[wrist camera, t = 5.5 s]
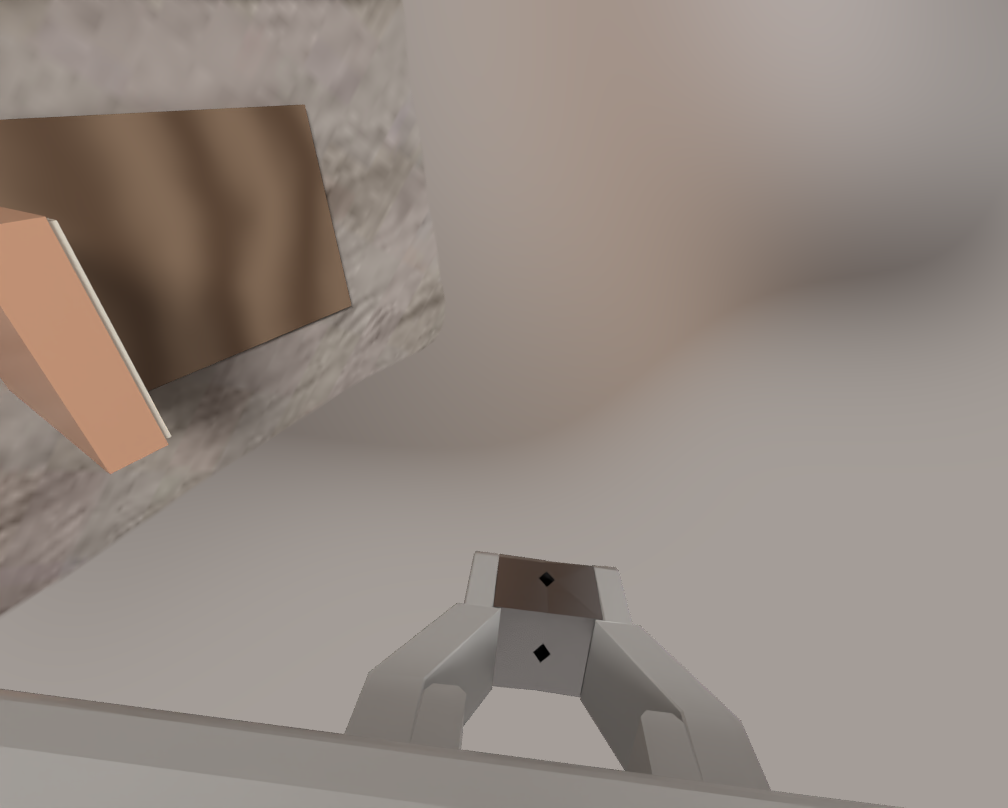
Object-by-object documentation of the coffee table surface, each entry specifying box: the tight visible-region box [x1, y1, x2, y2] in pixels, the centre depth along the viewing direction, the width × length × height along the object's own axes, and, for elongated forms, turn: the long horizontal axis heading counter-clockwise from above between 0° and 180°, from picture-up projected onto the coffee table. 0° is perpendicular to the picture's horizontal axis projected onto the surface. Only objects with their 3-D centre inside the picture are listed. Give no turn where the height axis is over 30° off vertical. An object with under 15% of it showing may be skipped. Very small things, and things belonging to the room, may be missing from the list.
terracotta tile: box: [0, 207, 171, 474], centre depth 22 cm, size 3×10×14 cm, turn 5°
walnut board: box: [0, 105, 351, 391], centre depth 34 cm, size 20×16×1 cm
